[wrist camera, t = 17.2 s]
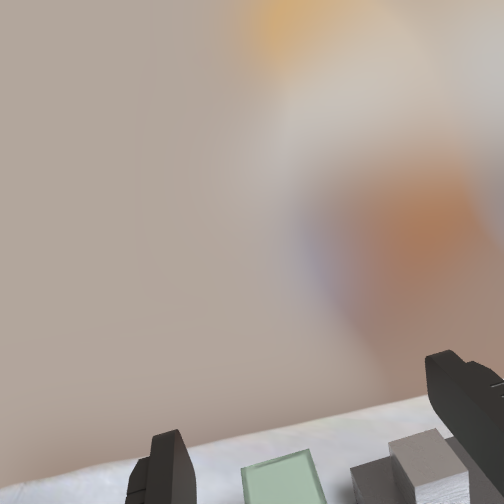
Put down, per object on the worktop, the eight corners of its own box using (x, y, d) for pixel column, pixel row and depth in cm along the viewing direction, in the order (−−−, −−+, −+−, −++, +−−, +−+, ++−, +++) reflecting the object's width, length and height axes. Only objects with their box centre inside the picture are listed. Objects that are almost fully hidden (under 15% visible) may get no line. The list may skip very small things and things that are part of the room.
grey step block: (399, 601, 29) (386, 528, 26) (356, 499, 36) (343, 434, 33) (528, 559, 29) (530, 482, 26) (459, 467, 37) (455, 400, 34)
